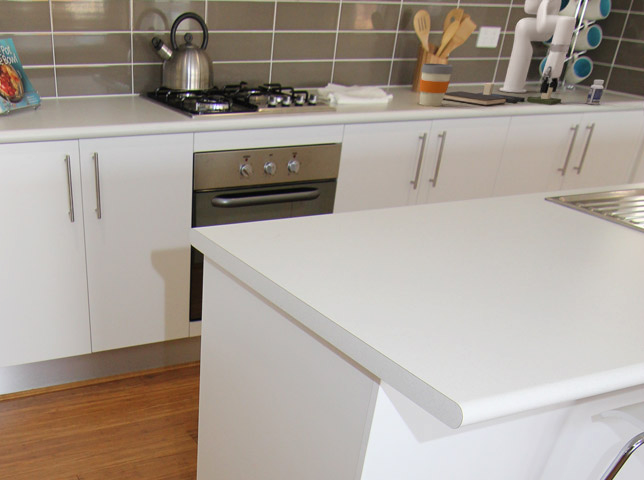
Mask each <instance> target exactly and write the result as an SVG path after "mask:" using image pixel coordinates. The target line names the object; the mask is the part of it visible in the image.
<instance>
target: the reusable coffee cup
mask: <svg viewBox="0 0 644 480" xmlns="http://www.w3.org/2000/svg"><path fill="white" fill-rule="evenodd" d="M453 68H454V65H452V64H446V63H445V64H444V63H432V62H431V63H429V62H428V63H423V64H422V67H421V71H420V72H421V76H420V77H421V78H420V79H419V105H422V106H427V107H428V106H429V107H441V106H442V104H443V100H444V99H443V97H444V94H445V93H447V91H448V88H449V85H450V78H451V75H452V74H453Z"/></svg>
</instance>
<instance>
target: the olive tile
mask: <svg viewBox="0 0 644 480" xmlns="http://www.w3.org/2000/svg"><path fill="white" fill-rule="evenodd" d="M552 90H553V88H550V87H549V88H548V92H547V93H541V95H540V96H527V99H526V101H528V103H534V104H542V105H549V106H551V105H555V104H560V103H562V98H556V97H552V94H553V92H552Z"/></svg>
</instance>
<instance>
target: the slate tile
mask: <svg viewBox="0 0 644 480" xmlns="http://www.w3.org/2000/svg"><path fill="white" fill-rule="evenodd" d="M494 87H495V83H489V82H487V83H484V88H483V92H475V93H476V94H483V95H490V96H498V97H504V96H501V95H502V94H499V93H493V91H494Z"/></svg>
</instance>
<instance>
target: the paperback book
mask: <svg viewBox="0 0 644 480" xmlns="http://www.w3.org/2000/svg"><path fill="white" fill-rule="evenodd" d="M476 93H477V92H468V91H463V90H461V91H449V92H446V93H445V94H444V97H443V100H446V101H452V102H460V103H464V104H472V105H478V106H484V107H486V106H495V105H505V104H506V103H507V102H506V98H504V97H497V96H490V95H483V94H476Z"/></svg>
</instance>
